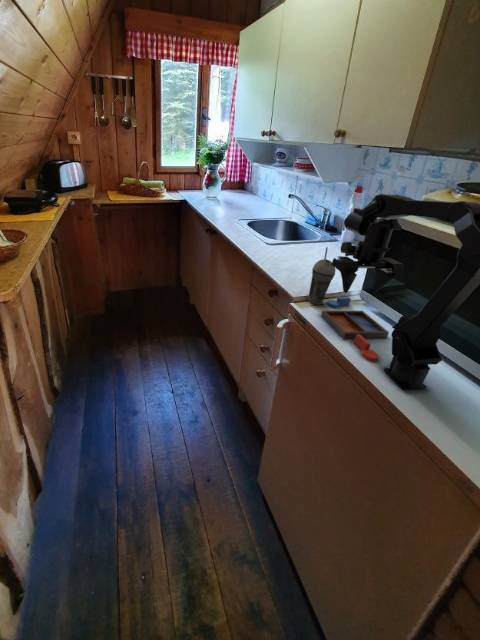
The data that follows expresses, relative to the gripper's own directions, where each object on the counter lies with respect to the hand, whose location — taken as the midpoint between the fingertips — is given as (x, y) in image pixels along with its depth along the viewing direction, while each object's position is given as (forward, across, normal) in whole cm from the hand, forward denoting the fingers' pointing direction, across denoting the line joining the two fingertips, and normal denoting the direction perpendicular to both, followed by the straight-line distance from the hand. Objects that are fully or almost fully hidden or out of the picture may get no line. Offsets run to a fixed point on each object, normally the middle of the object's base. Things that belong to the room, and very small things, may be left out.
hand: (359, 292), depth 88 cm
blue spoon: (+12, -6, -14) cm, 19 cm away
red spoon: (+13, +2, +10) cm, 16 cm away
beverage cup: (+12, +1, -16) cm, 20 cm away
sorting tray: (+12, -3, -1) cm, 13 cm away
